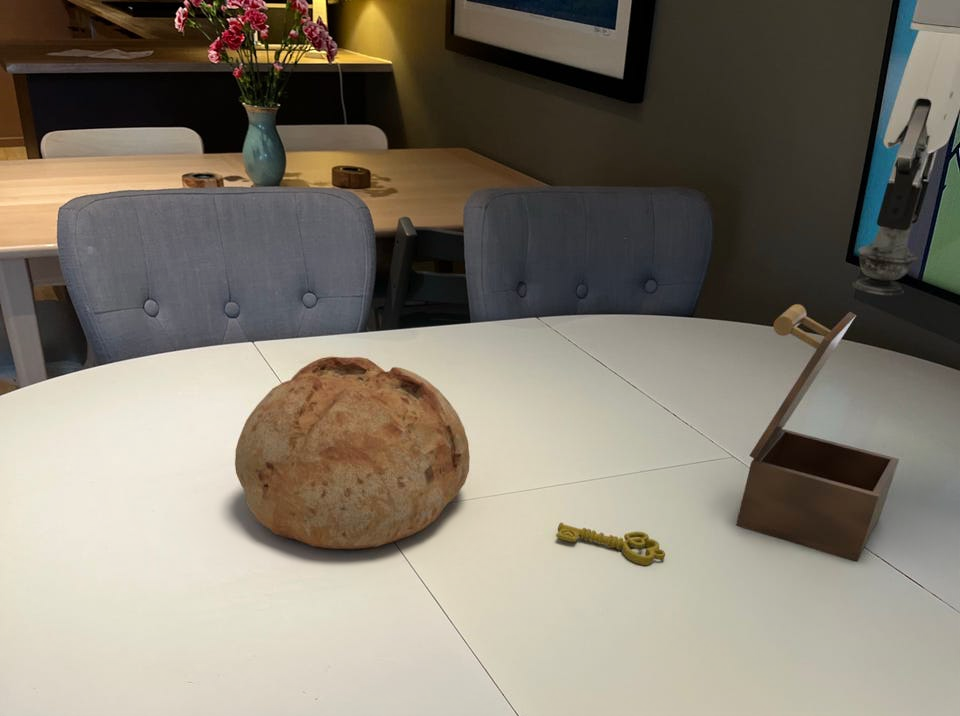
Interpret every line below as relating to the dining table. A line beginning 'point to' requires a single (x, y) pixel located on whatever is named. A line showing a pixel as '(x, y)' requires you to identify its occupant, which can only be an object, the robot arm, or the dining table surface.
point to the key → (617, 542)
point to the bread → (351, 455)
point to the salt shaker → (885, 261)
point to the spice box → (816, 493)
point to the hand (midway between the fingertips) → (897, 222)
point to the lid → (824, 349)
